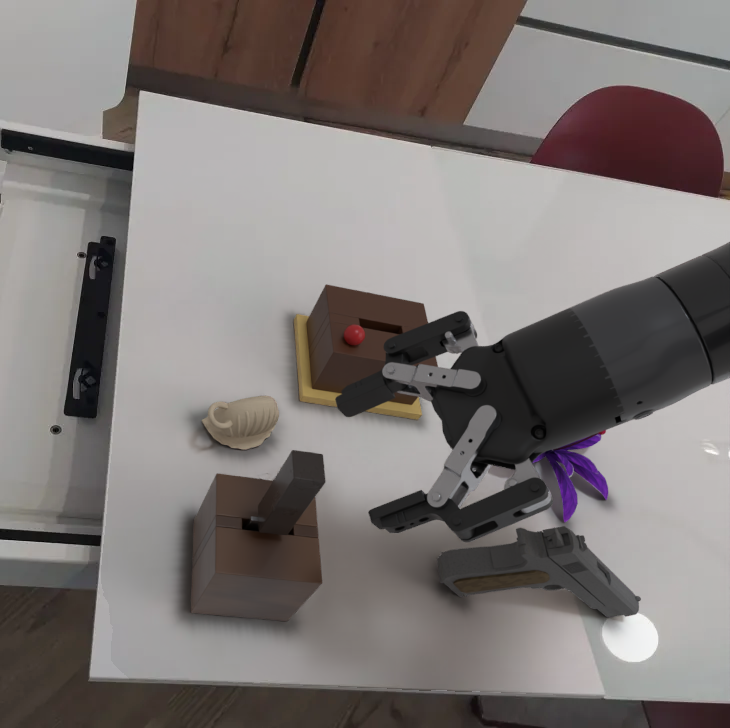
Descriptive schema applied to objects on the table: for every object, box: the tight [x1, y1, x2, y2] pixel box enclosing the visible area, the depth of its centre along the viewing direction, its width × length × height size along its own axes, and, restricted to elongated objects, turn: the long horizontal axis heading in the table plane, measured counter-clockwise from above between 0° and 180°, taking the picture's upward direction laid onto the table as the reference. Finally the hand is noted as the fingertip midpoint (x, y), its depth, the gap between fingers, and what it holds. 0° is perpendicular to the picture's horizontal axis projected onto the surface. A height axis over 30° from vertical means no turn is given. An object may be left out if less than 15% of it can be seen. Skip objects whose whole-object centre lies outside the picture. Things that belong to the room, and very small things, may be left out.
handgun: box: [436, 525, 642, 618], centre depth 65 cm, size 3×18×12 cm
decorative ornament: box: [201, 395, 280, 451], centre depth 67 cm, size 4×8×5 cm, turn 110°
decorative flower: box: [532, 430, 609, 524], centre depth 75 cm, size 14×15×7 cm
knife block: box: [190, 473, 323, 622], centre depth 58 cm, size 8×8×8 cm
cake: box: [293, 283, 439, 421], centre depth 75 cm, size 13×11×9 cm
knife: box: [243, 449, 326, 535], centre depth 55 cm, size 3×2×17 cm
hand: (356, 462), depth 49 cm, fingers open, 8 cm apart
